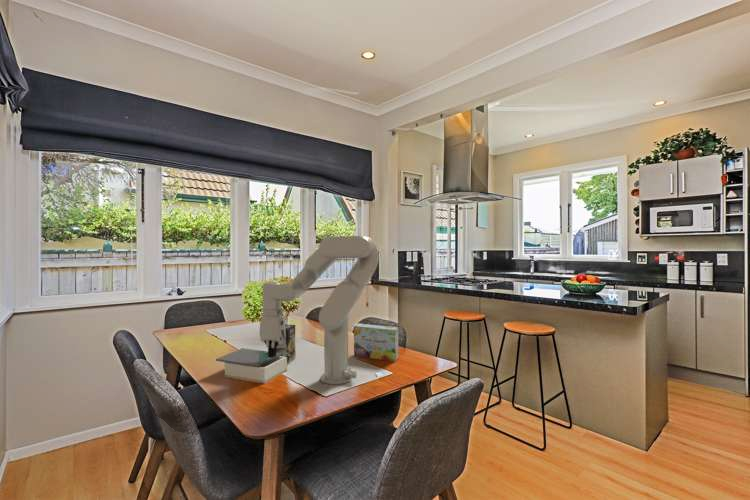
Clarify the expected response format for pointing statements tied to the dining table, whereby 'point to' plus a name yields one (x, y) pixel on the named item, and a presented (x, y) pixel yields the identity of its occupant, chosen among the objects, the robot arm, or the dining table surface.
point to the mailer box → (257, 370)
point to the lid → (247, 357)
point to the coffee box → (288, 344)
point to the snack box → (376, 342)
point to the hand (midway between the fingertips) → (272, 356)
